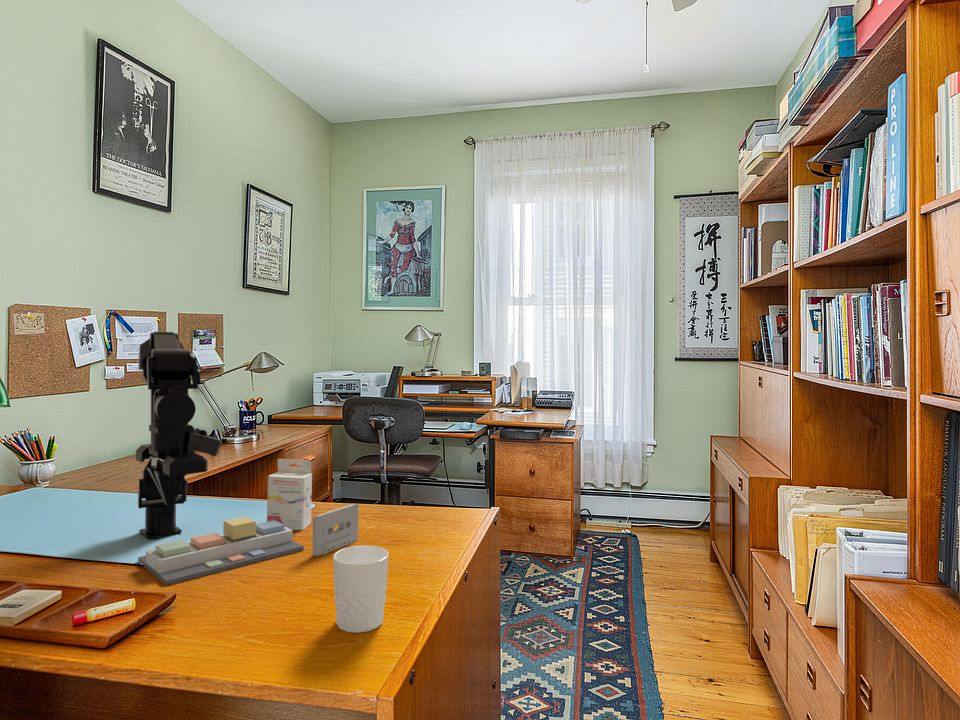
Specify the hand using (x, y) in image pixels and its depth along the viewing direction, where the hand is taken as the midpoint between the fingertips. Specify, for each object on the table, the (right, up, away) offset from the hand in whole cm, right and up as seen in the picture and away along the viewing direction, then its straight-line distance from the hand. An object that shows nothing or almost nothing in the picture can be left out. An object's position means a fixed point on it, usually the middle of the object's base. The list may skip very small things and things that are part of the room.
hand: (169, 505), depth 105 cm
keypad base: (+7, -11, +6) cm, 14 cm away
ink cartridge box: (+14, -11, +25) cm, 30 cm away
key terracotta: (+5, -10, +3) cm, 11 cm away
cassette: (+27, -12, +11) cm, 32 cm away
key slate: (+14, -10, +12) cm, 21 cm away
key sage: (+1, -9, -1) cm, 10 cm away
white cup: (+39, -12, -20) cm, 45 cm away
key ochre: (+9, -8, +8) cm, 14 cm away
